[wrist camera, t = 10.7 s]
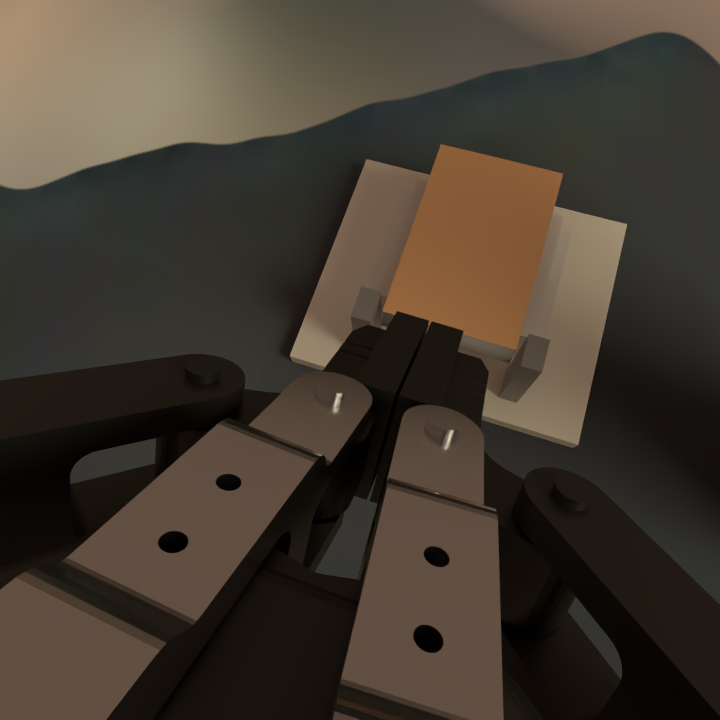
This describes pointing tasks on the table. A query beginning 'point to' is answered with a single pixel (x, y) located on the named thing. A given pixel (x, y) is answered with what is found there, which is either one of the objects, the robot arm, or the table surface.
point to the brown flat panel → (475, 249)
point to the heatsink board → (505, 380)
